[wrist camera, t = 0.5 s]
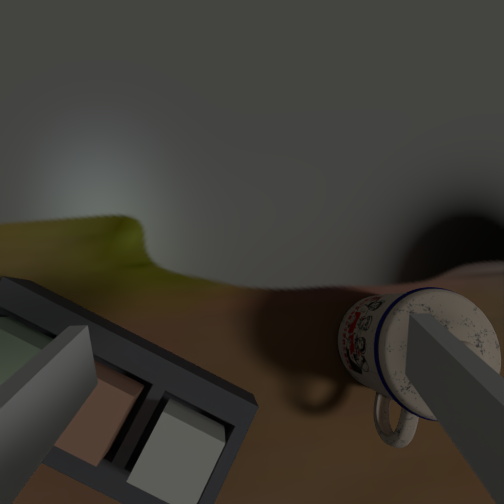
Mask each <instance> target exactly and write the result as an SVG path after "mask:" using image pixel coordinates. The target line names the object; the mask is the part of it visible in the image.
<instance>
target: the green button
mask: <svg viewBox="0 0 504 504" xmlns="http://www.w3.org/2000/svg"><path fill="white" fill-rule="evenodd" d="M52 340H54V339H53V338H51V337H49V336H47V335H45V334H43V333H41V332H39V331H37V330H35V329H33V328H31V327H29V326H27V325H25V324H23V323H21V322H19V321H17V320H15V319H13V318H11V317H0V385H2V384H3V383H4V382H5V381H6V380H7V379H8V378H10V377H11V376H12V375H13V374H14V373H15V372H17V371H18V370H19V369H20V368H21V367H22V366H24V365H25V364H26V363H27V362H28V361H29V360H30V359H32V358H33V357H34V356H35V355H36V354H37V353H39V352H40V351H41V350H42V349H43V348H44V347H45V346H47V345H48V344H49V343H50V342H51V341H52Z"/></svg>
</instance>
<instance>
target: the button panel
mask: <svg viewBox="0 0 504 504" xmlns="http://www.w3.org/2000/svg"><path fill="white" fill-rule="evenodd" d="M0 317H11V318H13V319H15V320H17V321H19V322H21V323H23V324H25V325H27V326H29V327H31V328H33V329H35V330H37V331H39V332H41V333H43V334H45V335H47V336H49V337H51V338H53V339H55V338H56V337H57V336H58V335H59V334H61V333H62V332H63V331H64V330H65V329H66V328H67V327H69V326H79V325H88V330H89V335H90V341H91V347H92V352H93V358H94V360H96V361H98V362H100V363H102V364H104V365H106V366H108V367H110V368H112V369H114V370H115V371H117V372H119V373H121V374H123V375H125V376H127V377H129V378H131V379H133V380H135V381H137V382H139V383H141V384H143V385H145V386H144V388H143V390H142V392H141V394H140V395H139V397H138V399H137V401H136V403H135V405H134V407H133V408H132V410H131V412H130V414H129V416H128V418H127V420H126V421H125V423H124V425H123V427H122V429H121V431H120V433H119V435H118V436H117V438H116V440H115V442H114V444H113V446H112V447H111V448H110V450H109V451H108V452H107V453H106V455H105V456H104V457H103V459H102V460H101V461H100V463H99V464H98V465H97V466H94V465H92V464H90V463H88V462H86V461H84V460H82V459H80V458H78V457H76V456H74V455H72V454H70V453H68V452H66V451H64V450H62V449H60V448H58V447H56V446H54V445H53V447H52V448H51V450H50V451H49V452H48V454H47V455H46V457H45V458H44V459H43V461H42V462H41V463H43V464H45V465H47V466H49V467H51V468H53V469H55V470H57V471H59V472H61V473H63V474H65V475H67V476H69V477H71V478H73V479H75V480H77V481H79V482H81V483H83V484H85V485H87V486H89V487H91V488H93V489H95V490H97V491H99V492H101V493H103V494H105V495H107V496H109V497H111V498H113V499H115V500H117V501H119V502H121V503H123V504H169V503H167V502H165V501H163V500H161V499H159V498H157V497H155V496H153V495H151V494H149V493H147V492H145V491H143V490H141V489H139V488H137V487H135V486H133V485H131V484H130V483H128V482H127V480H128V478H129V476H130V474H131V472H132V470H133V468H134V466H135V464H136V462H137V460H138V458H139V456H140V455H141V453H142V451H143V449H144V447H145V445H146V443H147V441H148V439H149V437H150V435H151V433H152V431H153V429H154V427H155V426H156V424H157V422H158V420H159V418H160V416H161V414H162V412H163V410H164V408H165V406H166V405H167V403H168V401H169V399H172V400H174V401H176V402H178V403H180V404H182V405H184V406H186V407H188V408H190V409H192V410H194V411H196V412H198V413H200V414H202V415H204V416H206V417H208V418H210V419H212V420H214V421H216V422H218V423H220V424H222V425H224V429H225V445H224V447H223V449H222V452H221V454H220V456H219V458H218V460H217V462H216V464H215V466H214V468H213V471H212V473H211V475H210V477H209V479H208V481H207V483H206V485H205V487H204V490H203V492H202V494H201V496H200V498H199V500H198V502H197V504H214V502H215V500H216V498H217V495H218V493H219V491H220V489H221V487H222V485H223V483H224V480H225V478H226V476H227V474H228V472H229V470H230V467H231V465H232V463H233V461H234V459H235V457H236V455H237V452H238V450H239V448H240V446H241V444H242V442H243V439H244V437H245V435H246V433H247V431H248V429H249V426H250V424H251V422H252V420H253V418H254V416H255V414H256V411H257V409H258V404H257V402H256V400H255V397H254V395H253V394H251V393H249V392H247V391H246V390H244V389H242V388H240V387H238V386H236V385H234V384H232V383H230V382H228V381H226V380H224V379H222V378H220V377H218V376H216V375H214V374H212V373H210V372H208V371H206V370H204V369H202V368H201V367H199V366H197V365H195V364H193V363H191V362H189V361H187V360H185V359H183V358H181V357H179V356H177V355H175V354H173V353H171V352H169V351H167V350H165V349H163V348H161V347H159V346H157V345H156V344H154V343H152V342H150V341H148V340H146V339H144V338H142V337H140V336H138V335H136V334H134V333H132V332H130V331H128V330H126V329H124V328H122V327H120V326H118V325H116V324H114V323H112V322H110V321H109V320H107V319H105V318H103V317H101V316H99V315H97V314H95V313H93V312H91V311H89V310H87V309H85V308H83V307H81V306H79V305H77V304H75V303H73V302H71V301H69V300H67V299H65V298H64V297H62V296H60V295H58V294H56V293H54V292H52V291H50V290H48V289H46V288H44V287H42V286H40V285H38V284H36V283H34V282H32V281H29V280H23V279H17V278H10V277H4V276H3V277H2V279H1V280H0Z"/></svg>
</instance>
